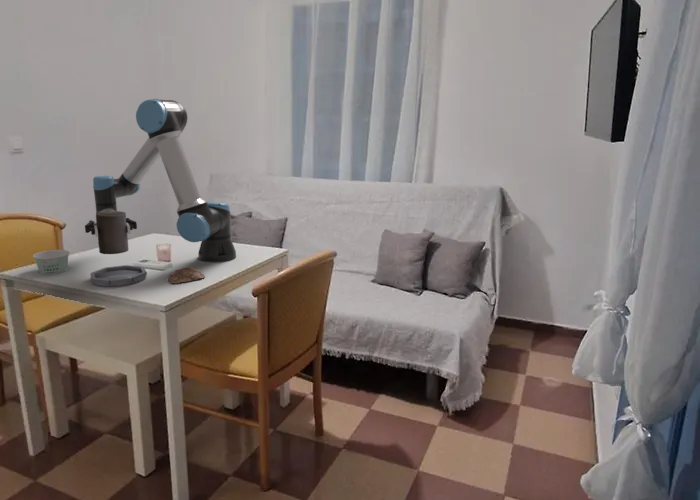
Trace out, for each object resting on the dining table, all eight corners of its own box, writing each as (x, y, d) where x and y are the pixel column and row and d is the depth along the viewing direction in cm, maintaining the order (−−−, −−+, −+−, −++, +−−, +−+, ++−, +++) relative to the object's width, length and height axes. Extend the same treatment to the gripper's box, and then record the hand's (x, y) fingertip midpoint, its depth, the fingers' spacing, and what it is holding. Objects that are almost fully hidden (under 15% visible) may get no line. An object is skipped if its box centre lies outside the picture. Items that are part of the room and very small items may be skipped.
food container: (35, 277, 185) (33, 259, 183) (34, 268, 195) (31, 252, 193) (73, 272, 191) (71, 255, 190) (70, 264, 201) (68, 248, 199)
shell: (162, 278, 188) (161, 268, 187) (196, 272, 195) (196, 263, 194) (172, 286, 178) (171, 276, 178) (207, 280, 186) (207, 270, 185)
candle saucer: (156, 274, 190) (156, 268, 190) (123, 289, 173) (122, 282, 173) (115, 269, 195) (115, 263, 194) (79, 283, 178) (78, 277, 178)
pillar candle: (96, 255, 178) (91, 212, 174) (102, 248, 187) (99, 207, 183) (126, 254, 180) (122, 211, 176) (131, 247, 189) (128, 207, 185)
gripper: (140, 227, 203) (148, 238, 184) (77, 232, 193) (78, 245, 174) (138, 208, 201) (146, 218, 182) (74, 212, 191) (75, 223, 172)
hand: (113, 231), depth 178 cm, fingers closed on pillar candle, 9 cm apart
